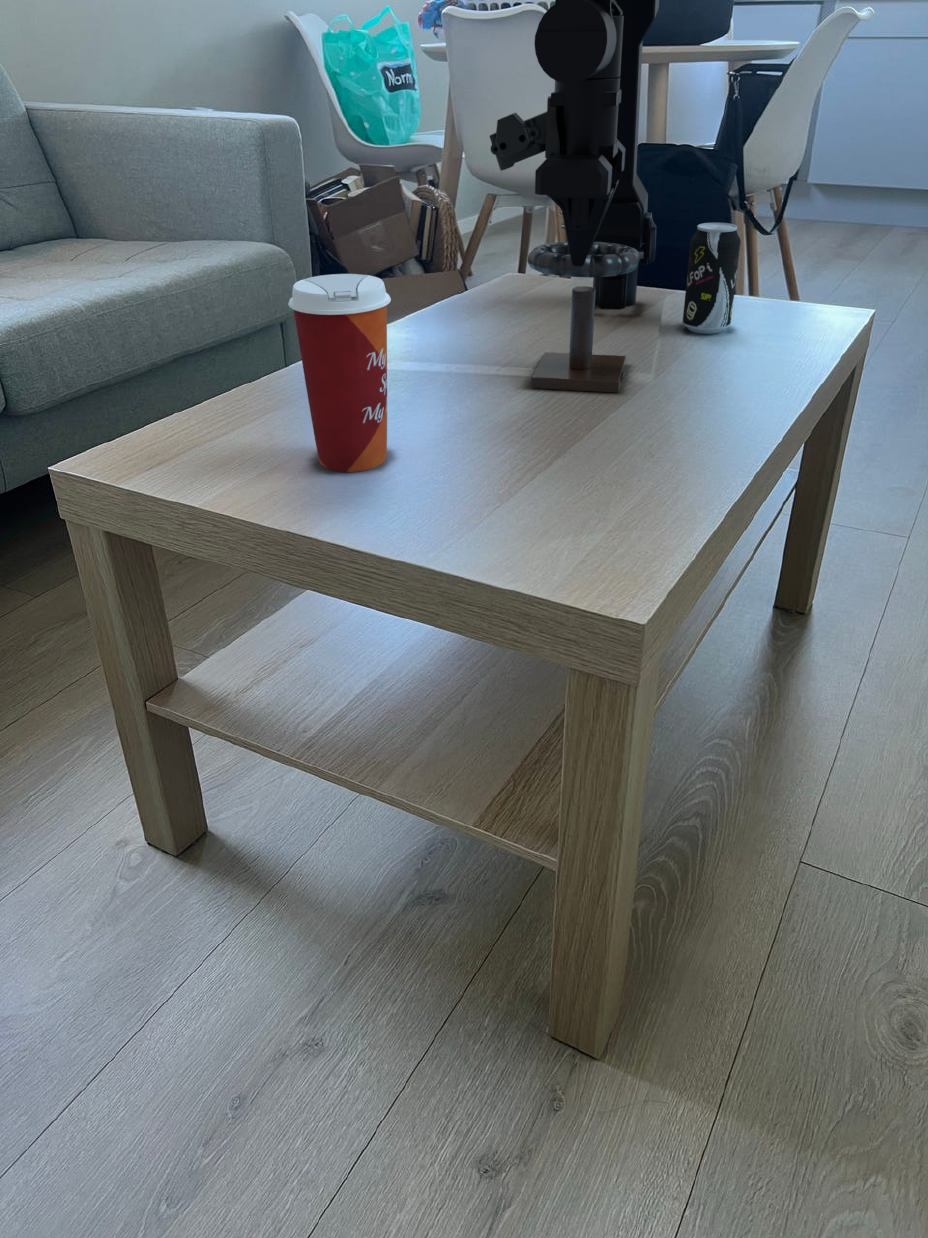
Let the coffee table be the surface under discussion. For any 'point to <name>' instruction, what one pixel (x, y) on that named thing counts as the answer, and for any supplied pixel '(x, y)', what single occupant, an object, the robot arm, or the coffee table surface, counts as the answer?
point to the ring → (598, 262)
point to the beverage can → (711, 278)
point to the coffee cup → (345, 366)
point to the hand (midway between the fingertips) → (579, 263)
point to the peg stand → (580, 355)
